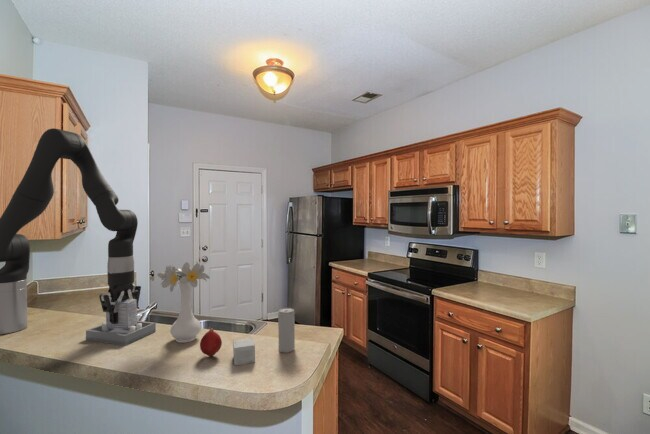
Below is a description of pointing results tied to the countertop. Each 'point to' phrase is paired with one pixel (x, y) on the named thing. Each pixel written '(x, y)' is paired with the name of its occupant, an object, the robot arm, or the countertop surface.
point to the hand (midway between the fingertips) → (121, 320)
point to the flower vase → (184, 299)
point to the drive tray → (120, 333)
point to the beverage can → (286, 330)
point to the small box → (244, 351)
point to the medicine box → (124, 314)
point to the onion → (210, 343)
